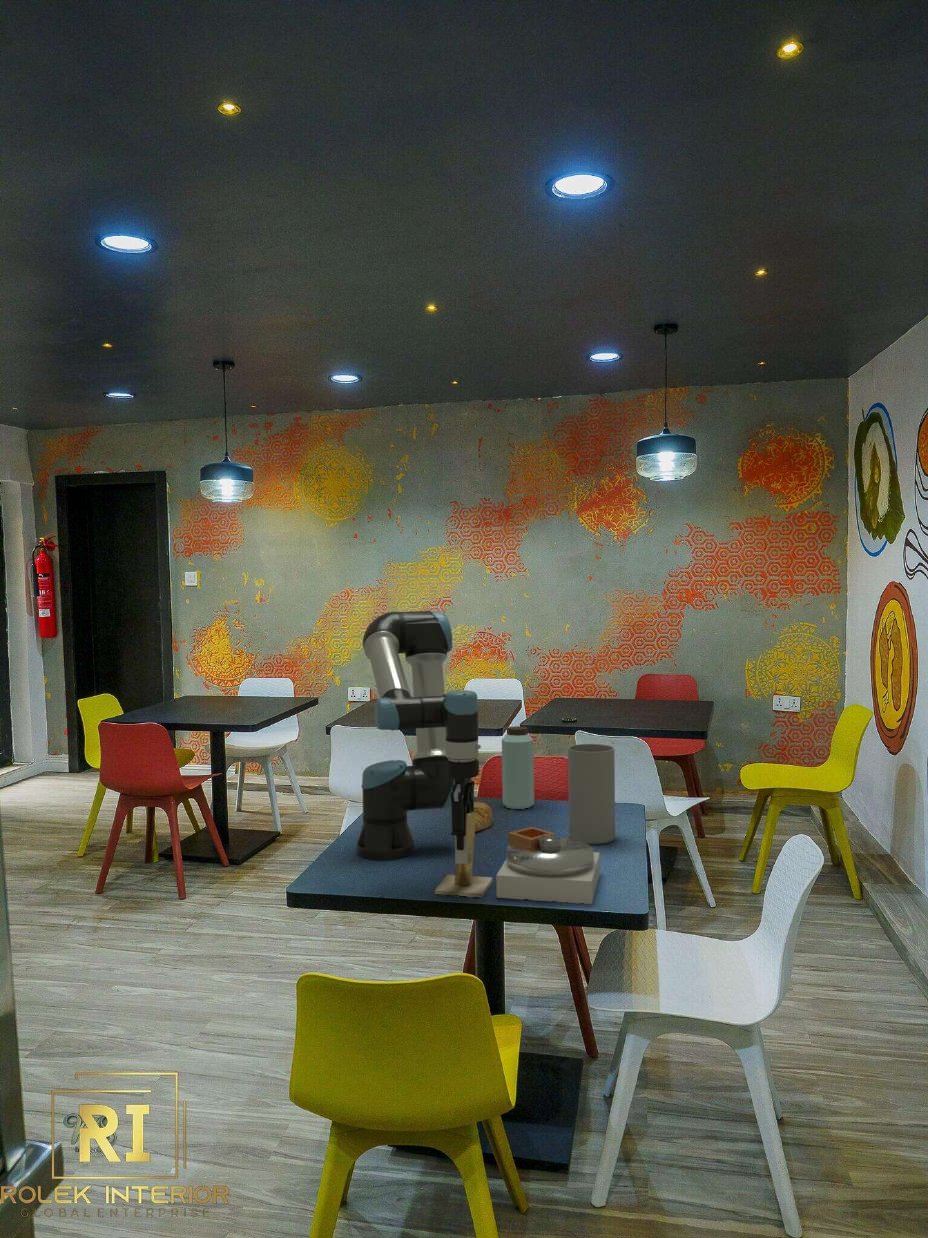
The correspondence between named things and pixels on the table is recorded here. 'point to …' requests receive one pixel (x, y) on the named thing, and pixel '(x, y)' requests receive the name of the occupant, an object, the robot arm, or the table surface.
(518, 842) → the silver metal disc
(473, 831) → the brass capsule
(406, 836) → the robot arm
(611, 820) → the cylinder vase
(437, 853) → the table surface
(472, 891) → the birch pad
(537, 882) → the beige square block
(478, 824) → the croissant
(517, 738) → the water bottle
